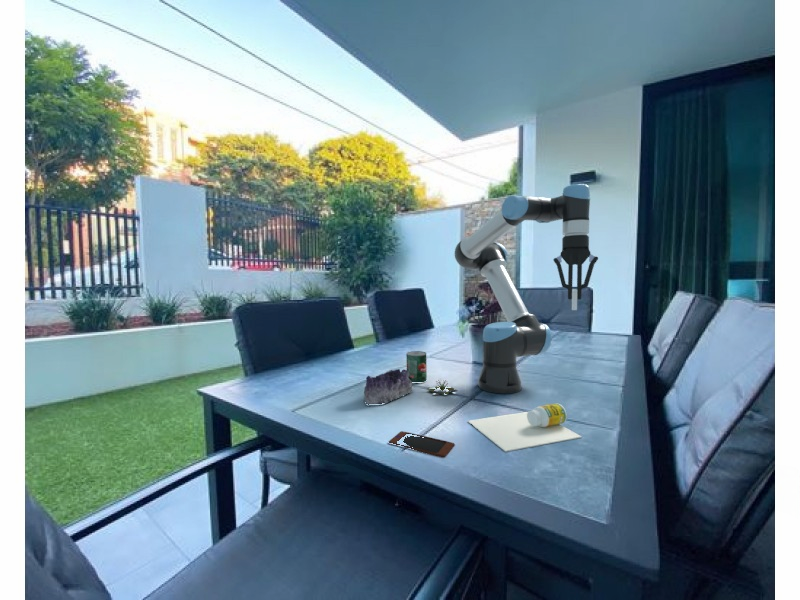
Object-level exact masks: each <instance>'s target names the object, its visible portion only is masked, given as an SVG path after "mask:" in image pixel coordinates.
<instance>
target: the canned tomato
mask: <svg viewBox="0 0 800 600" xmlns="http://www.w3.org/2000/svg"><path fill="white" fill-rule="evenodd" d="M427 366H428V365H427V352H426V351H420V350H413V351H412V350H411V351H408V352H406V370H407V371H408V372H409V377H408V378H409V379H410V380H411V381H412V382H424V381H426V380H427V377H428V376H427V369H428V368H427ZM427 381H428V380H427ZM427 381H426V382H427Z"/></svg>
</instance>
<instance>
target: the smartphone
mask: <svg viewBox="0 0 800 600" xmlns="http://www.w3.org/2000/svg"><path fill="white" fill-rule="evenodd" d="M406 434H412V435H417V436H420V437H414V436H410V437H408V436H407V438H406V437H405V439H404V441H403V442H404V443H406V444H407V445H409V446H410V447H408V446H404V445H401V446H404V447H407V448H411V449H414V450H417V451H416V452H418V451H419V453H422V452H423V453H422V454H426V453H427V455H431V456H434V457H438V458H442V459H444V458H445V459H446V457H447V456H448V455H449V453H450V452H451V451H452V449H453V448H454V447H455V446H456V444H455V442H452V441H448V440H443V439H438V438H434V437H430V436H426V435H421V434H417V433H413V432H408V431H399V432H398V433H397V434H396V435H394V437H392V438H391V439H390V440H388V442H389V443H393V444H396V445H400V444H397V441H399V440H400V439H401V438H402V437H404V436H405V435H406ZM422 437H424V438H422ZM412 447H413V448H412ZM414 450H413V451H414Z"/></svg>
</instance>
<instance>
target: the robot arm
mask: <svg viewBox="0 0 800 600" xmlns="http://www.w3.org/2000/svg"><path fill="white" fill-rule="evenodd" d="M590 196H591V195H590V187H589V185H587V184H585V183H577V184H570V185H567V186H565V187H564V188H563V190H562V195H560V196H556V197H551V198H550V197H548V198H547V197H539V196H538V197H537V196H527V195H522V194H521V195H520V194H517V195H508V196H507V197H506V198H505V199H504V201H503V203H502V204H501V210H500V211H499V212H497V213H496V214H495V215H494V216H493V217H491V218H490V219H489V220H488V221H487V222H485V223H484V224H483V225H482V226H480V227H479V228H478V229H477V230H476V231H474V232H473V233H472V234H471V235H470V236H465V237H463V238H462V239H461V240H460V241H459V242H458V243H457V245H456V246H455V248H454V259H455V261H456V262H457V264H458V265H459V266H460V267H462V268H464V269H469V270H478V271H479V274H480V275H481V277H483V278H486V279H487V281H488V284H489V285H490V289H491V290H492V292H493V295H494V296H495V298H496V300H497V302H498V304H499V306H500V308H501V311H502V312H503V314H504V317H505V319H506V321H502V322H501V321H497V322H493V323H489V324H487V325H485V326H484V328H483V332H482V368H481V369H480V370H481V371H480V373H479V376H478V379H477V380H478V381H477V384H478V385H477V386H479V387H478V388H479V389H481V390H483V391H484V392H488V393H495V394H504V395H505V394H514V393H518V392H520V391H521V390H522V381H521V380H522V379H521V378H520V374H519V371H518V369H517V358H520V357H529V356H530V357H531V356H538V355H542V354H545V353H546V352H547V351H548V350H549V349H550V348H551V345H552V339H553V335H552V331H551V329H550V327H549V326H548V325H547V324H546V323H542V322H539V319H537V317H536V315H535V314H531V313H529V311H528V309H527V306H526V305H525V303H524V302H523V300H522V299H523V298H522V297H521V295H520V294H519V291H518V289H517V288H516V287H515V284H514V282H513V280H512V279H511V276H510V275H509V272H508V271H507V270H506V269H507V268H506V267H507V263H508V251H507V249H506V248H505V246H504V245H503V244H501V243H499V242H496V241H498V240H499V239H500V238H503V236H505V235H506V234H507V233H509V232H510V231H512V230H513V229H514V228H515V227H517V226H518V225H520V224H521V223H523V222H524V221H535V222H537V223H539V224H547V223H552V222H555V221H560V220H562V235H563V236H562V239H561V240H562V247H561V248H562V249H561V252H560V255H558V256H557V257H554V258H553V262H554V264H555V265H556V268H557V271H558V275H559V280H560V283H561V287H562V288H565V289H567V299H568V300H571V311H578V300H581V299H582V290H583V289H585V288H587V287H588V286H589V283H590V280H591V276H592V273H593V269H594V267H595V264H596V263H597V261H598V260H599V257H598V256H596V255H593V254H592V253H591V251H590V236H589V235H588V234H590V205H591V204H590V203H591V197H590ZM562 259H563V261H564V262H565V263H566V264H567V265H568V266H567V267H568V269H567V270H568V275H567V279H568V281H567V283H566V279H565V275H564V272H563V268H562V264H561V263H562ZM587 259H588V261H589V263H588V268H587V272H586V274H585V278H584V281H583V283H582V280H583V278H582V277H583V264H584V263H585V262H586V261H587ZM574 265H576V267H577V270H576V272H577V273H576V288H575V289H574V288H573V271H574V269H573V268H574Z"/></svg>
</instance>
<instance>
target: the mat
mask: <svg viewBox="0 0 800 600" xmlns="http://www.w3.org/2000/svg"><path fill="white" fill-rule="evenodd" d="M528 412H529V411H523V412H517V413H509V414H504V415H497V416H490V417H489V416H488V417H483V418H476V419H469V420H467V422H468V423H469V424H470V425H471V424H472V425H473V426H472V425H471V426H472V427H474V428H475V429H476V430H477V429H478V430H477V431H479V432H480V433H481V435H484V437H486V438H487V439H489V440H490V441H491V442H492V443H494V444H495V445H496V446H497V447H499V448H500V449H501V450H502V451H504V453H507V452H508V453H509V452H512V451H517V450H522V449H528V448H533V447H539V446H544V445H549V444H555V443H559V442H566V441H571V440H576V439H581V438H582V437H583V436H581V435H579V433H576V432H574V431H573V430H572V429H571V430H570V429H569V428H566V426H563V425H561V424H557V425H553V426H548V427H540V426H532V425H530V423H529V422H528V419H527V413H528Z"/></svg>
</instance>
